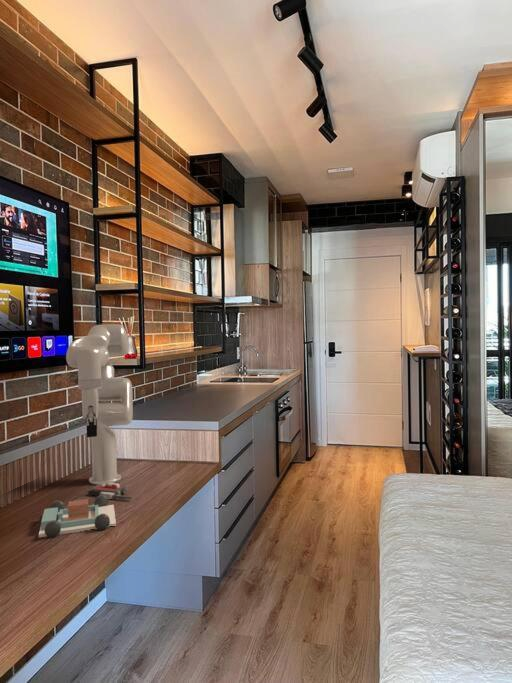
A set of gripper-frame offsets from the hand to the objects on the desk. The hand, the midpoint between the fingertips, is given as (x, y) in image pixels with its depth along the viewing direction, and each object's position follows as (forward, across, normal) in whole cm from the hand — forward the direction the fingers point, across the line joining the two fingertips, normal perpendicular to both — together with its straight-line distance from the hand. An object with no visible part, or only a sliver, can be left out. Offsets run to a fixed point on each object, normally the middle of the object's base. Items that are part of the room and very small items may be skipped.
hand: (92, 433), depth 171 cm
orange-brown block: (+24, +13, -5) cm, 28 cm away
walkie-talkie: (+27, -9, +6) cm, 29 cm away
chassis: (+25, +13, -5) cm, 29 cm away
